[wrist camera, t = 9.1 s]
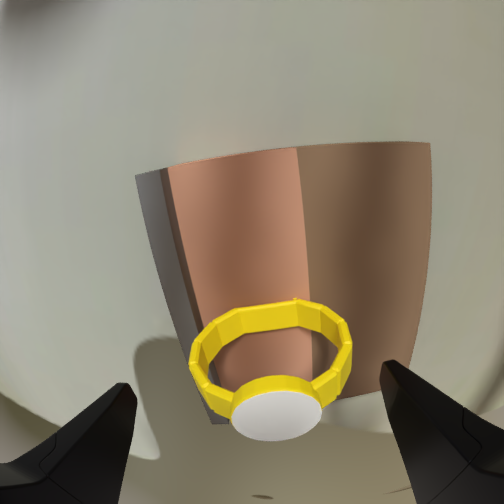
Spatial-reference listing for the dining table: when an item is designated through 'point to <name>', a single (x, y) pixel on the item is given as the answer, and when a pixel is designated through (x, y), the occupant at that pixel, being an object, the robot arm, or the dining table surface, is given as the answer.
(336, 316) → the watch
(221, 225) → the copper slab
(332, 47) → the dining table surface
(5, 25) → the dining table surface
